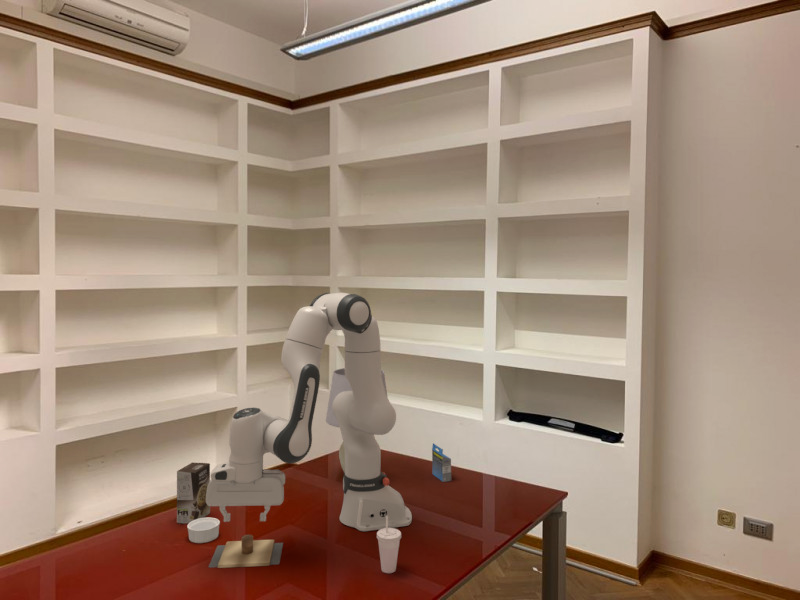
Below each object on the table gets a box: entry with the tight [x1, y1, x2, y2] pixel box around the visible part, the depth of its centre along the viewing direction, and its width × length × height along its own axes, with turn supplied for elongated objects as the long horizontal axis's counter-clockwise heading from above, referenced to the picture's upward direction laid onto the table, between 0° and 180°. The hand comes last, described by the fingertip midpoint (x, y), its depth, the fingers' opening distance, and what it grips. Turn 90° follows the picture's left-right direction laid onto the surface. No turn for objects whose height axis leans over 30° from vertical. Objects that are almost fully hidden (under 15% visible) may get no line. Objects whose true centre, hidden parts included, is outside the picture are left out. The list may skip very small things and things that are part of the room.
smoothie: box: [376, 516, 402, 574], centre depth 150 cm, size 6×6×14 cm
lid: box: [217, 534, 275, 569], centre depth 157 cm, size 13×13×5 cm
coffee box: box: [176, 462, 211, 524], centre depth 180 cm, size 9×6×16 cm
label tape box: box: [431, 442, 452, 483], centre depth 217 cm, size 9×4×12 cm, turn 23°
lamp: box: [325, 367, 389, 474], centre depth 215 cm, size 24×24×40 cm
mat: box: [208, 542, 284, 568], centre depth 157 cm, size 18×12×1 cm, turn 96°
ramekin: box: [186, 516, 221, 544], centre depth 167 cm, size 9×9×4 cm
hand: (245, 520), depth 156 cm, fingers open, 8 cm apart
